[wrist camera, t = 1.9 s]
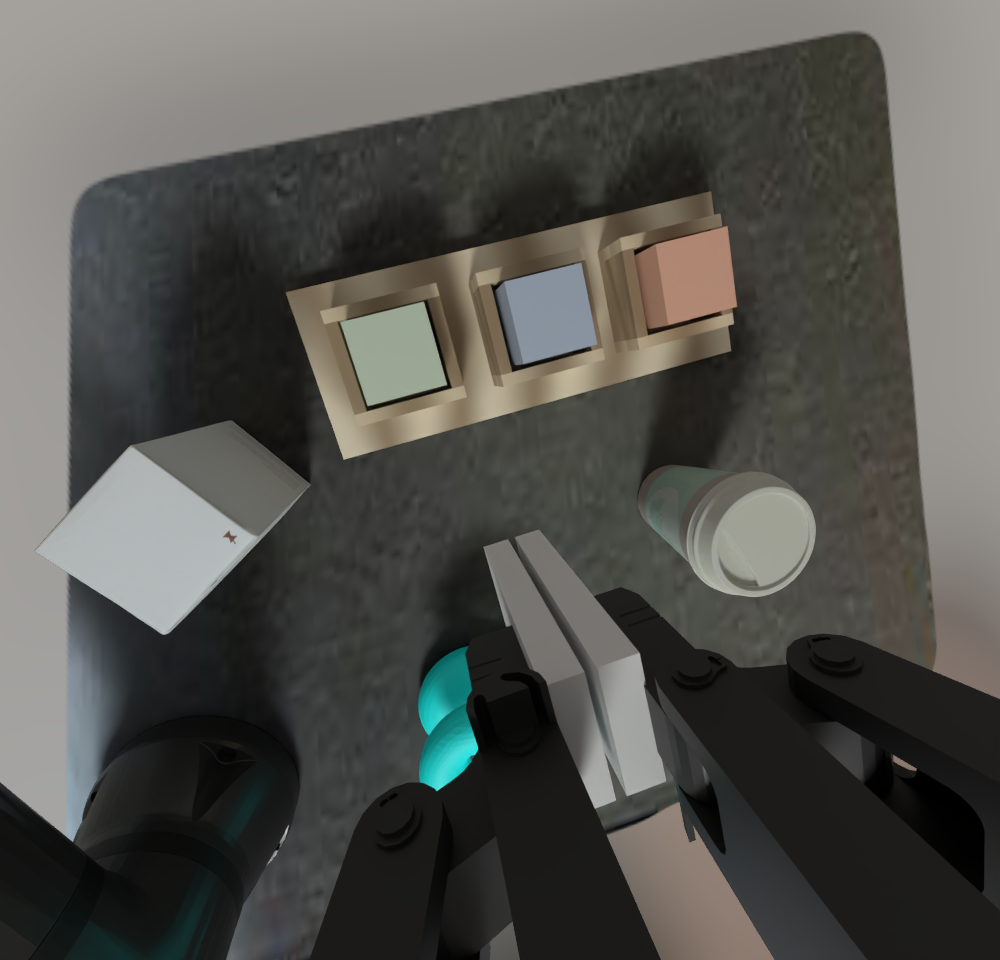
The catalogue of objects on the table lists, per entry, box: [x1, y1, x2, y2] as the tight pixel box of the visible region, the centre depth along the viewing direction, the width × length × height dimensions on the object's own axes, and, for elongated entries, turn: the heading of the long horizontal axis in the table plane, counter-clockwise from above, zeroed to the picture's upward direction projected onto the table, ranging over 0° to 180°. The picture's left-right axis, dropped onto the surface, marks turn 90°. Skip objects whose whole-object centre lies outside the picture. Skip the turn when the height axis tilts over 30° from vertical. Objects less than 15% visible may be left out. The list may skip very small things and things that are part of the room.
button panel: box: [286, 191, 734, 459], centre depth 34 cm, size 32×12×5 cm, turn 104°
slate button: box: [494, 263, 597, 366], centre depth 32 cm, size 5×5×4 cm
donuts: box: [418, 646, 478, 791], centre depth 38 cm, size 10×10×10 cm
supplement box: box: [35, 420, 310, 635], centre depth 29 cm, size 7×7×13 cm
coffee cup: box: [638, 465, 816, 597], centre depth 36 cm, size 8×8×12 cm
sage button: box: [340, 302, 447, 406], centre depth 31 cm, size 5×5×4 cm
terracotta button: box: [635, 227, 737, 329], centre depth 33 cm, size 5×5×4 cm
